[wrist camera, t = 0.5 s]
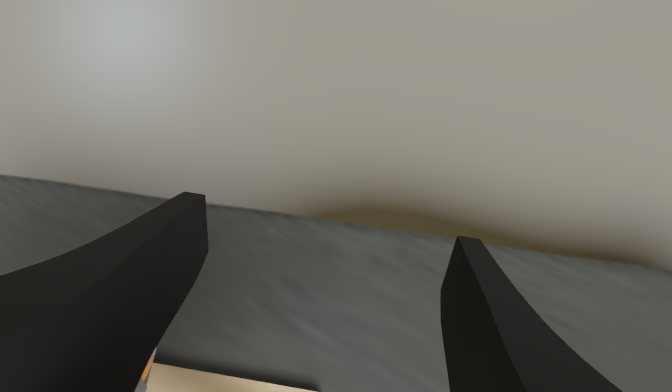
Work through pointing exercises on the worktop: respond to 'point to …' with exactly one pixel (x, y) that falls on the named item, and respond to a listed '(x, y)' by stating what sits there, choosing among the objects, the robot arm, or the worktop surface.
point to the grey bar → (143, 378)
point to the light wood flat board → (203, 381)
